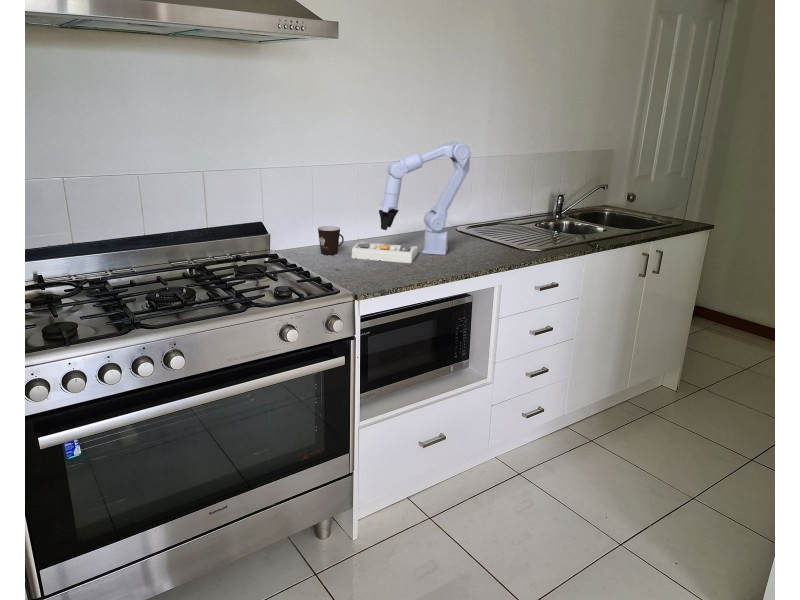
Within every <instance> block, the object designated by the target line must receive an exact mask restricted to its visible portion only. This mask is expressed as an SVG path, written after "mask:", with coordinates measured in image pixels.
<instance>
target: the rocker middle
mask: <svg viewBox="0 0 800 600" xmlns="http://www.w3.org/2000/svg"><path fill="white" fill-rule="evenodd" d="M378 248H380V249H383V250H388V249H389V248H390V245H378Z"/></svg>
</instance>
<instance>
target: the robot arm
mask: <svg viewBox="0 0 800 600" xmlns="http://www.w3.org/2000/svg"><path fill="white" fill-rule="evenodd" d="M471 155H472V152H471V151H470V148H469V145H468V144H466V143H464V142H459V141H456V140H453V141H450V142H446V143H444V144H441V145H439V146H436V147H435V148H433V149H430V150H428V151H426V152H424V153H422V154H419V153H414V152H411V153H409V156H406V157H403V158H401V157H400V158H398V160H397V161H395V160H394V161H391V162H390V163H389V164H388V166H387V167H386V172H387V178H386V183H385V189H384V194H383V199H382V202H379V205H380V206H382V209H379V210H378V213H379V214H378V215H379V217H380V230H385V231H387V230H388V228H392V225H393V222H394V219H395V218H396V216H397V215H398V213H399V209H398V204H399V199H400V194H401V188H402V182H403V181H402V180H403V178H404V177H405V175H407V174H409V173H412V172H414V171H417V170H419V169H421V168H422V167H423V165H424V164H425V163H428V162H430V161H433V160H435V159H438V158H442V157H448V158H449V159H450V160H451V161H452V165H453V168H454V169H453V172H452V173H451V175H450V177H449V178H448V180H447V182H446V184H445V186H444V188H443V190H442V192H441V194H440V196H438V199H437V201H436V203H435V204H434V205H433V206H432V207H431V208H430V210H429V211H428V212H426V213H425V215H424V216H423V223H424V225H425V227H424V239H423V240H424V241H423V249H422V250H421V254H428V255H430V254H431V255H441V256H442V255H443V256H445V255H446V254H447V252H448V250H449V249H448V247H449V246H448V245H449V244H448V242H449V231H448V230H444V228H445V226H446V221H447V218H448V211H449V208H450V207H451V205H452V203H453V202H454V199H455V197H456V195H457V194H458V191H459V190H460V189H461V186H462V185H463V183H464V180H465V179H466V177H467V175H468V174H469V171H470V166H471V165H470V163H471V162H470V161H471V160H470V159H471Z"/></svg>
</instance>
